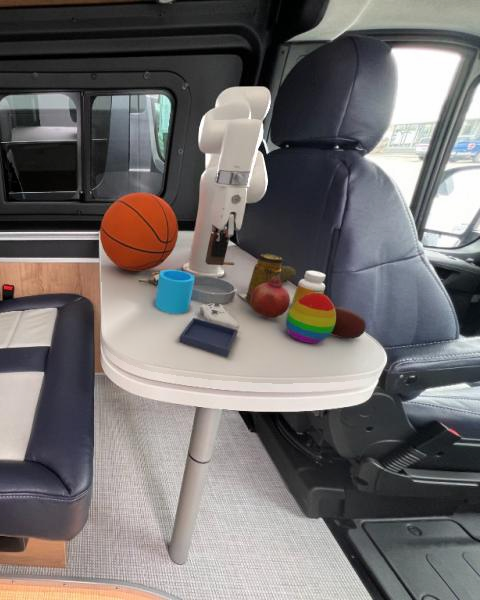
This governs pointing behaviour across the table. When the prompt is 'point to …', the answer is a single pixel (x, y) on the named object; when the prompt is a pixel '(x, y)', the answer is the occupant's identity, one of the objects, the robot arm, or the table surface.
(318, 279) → the supplement bottle
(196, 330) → the tray
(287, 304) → the fruit
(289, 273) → the hand grenade
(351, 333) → the potato
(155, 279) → the computer mouse
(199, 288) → the bowl
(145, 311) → the table surface
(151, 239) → the basket ball
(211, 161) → the robot arm
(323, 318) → the decorative egg
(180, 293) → the mug
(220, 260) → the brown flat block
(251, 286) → the condiment
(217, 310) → the gaming controller
